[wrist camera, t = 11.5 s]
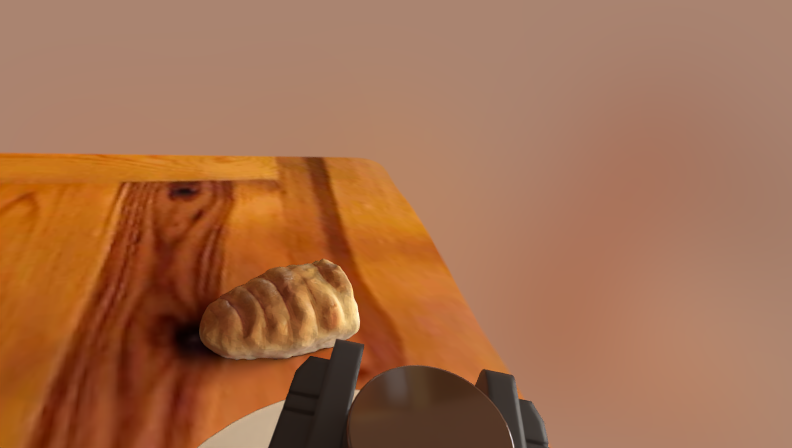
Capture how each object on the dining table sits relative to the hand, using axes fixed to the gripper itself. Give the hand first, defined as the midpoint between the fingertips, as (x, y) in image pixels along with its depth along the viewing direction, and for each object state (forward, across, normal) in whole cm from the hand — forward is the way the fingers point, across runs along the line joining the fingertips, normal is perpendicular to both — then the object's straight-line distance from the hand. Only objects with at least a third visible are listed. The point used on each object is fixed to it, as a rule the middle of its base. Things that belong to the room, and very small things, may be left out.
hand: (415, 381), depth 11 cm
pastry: (+14, +6, +13) cm, 20 cm away
